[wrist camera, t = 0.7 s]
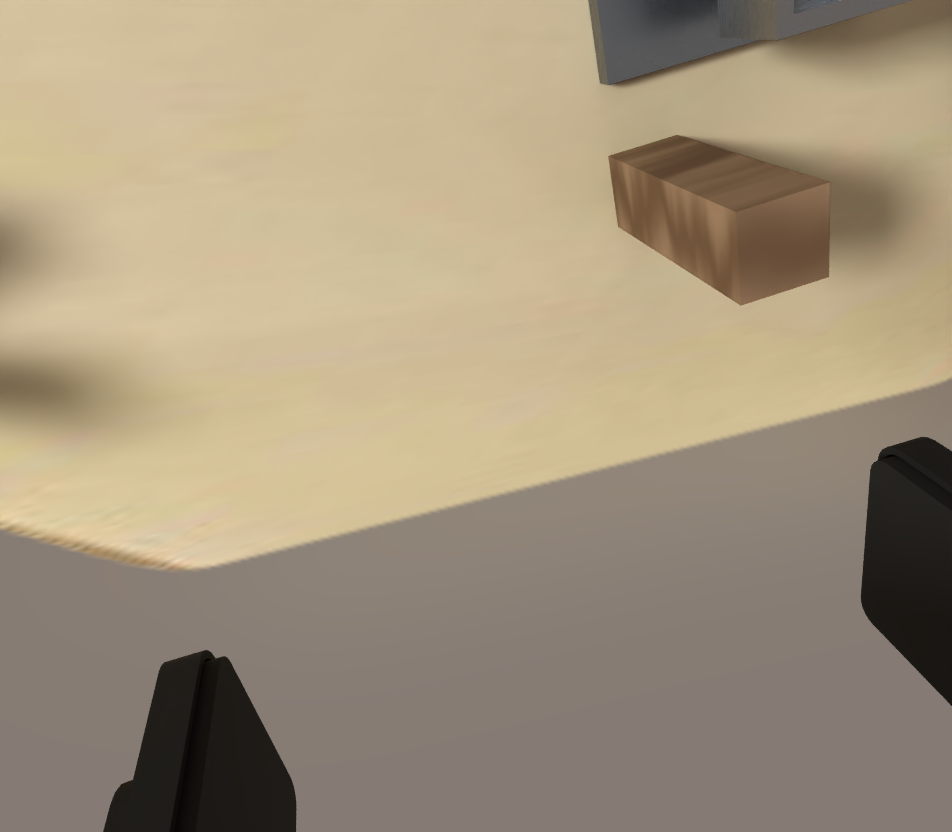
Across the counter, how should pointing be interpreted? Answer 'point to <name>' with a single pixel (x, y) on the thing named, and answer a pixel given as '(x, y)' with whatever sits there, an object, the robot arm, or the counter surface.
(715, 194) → the brown rectangular wood block
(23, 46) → the counter surface
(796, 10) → the bracket
